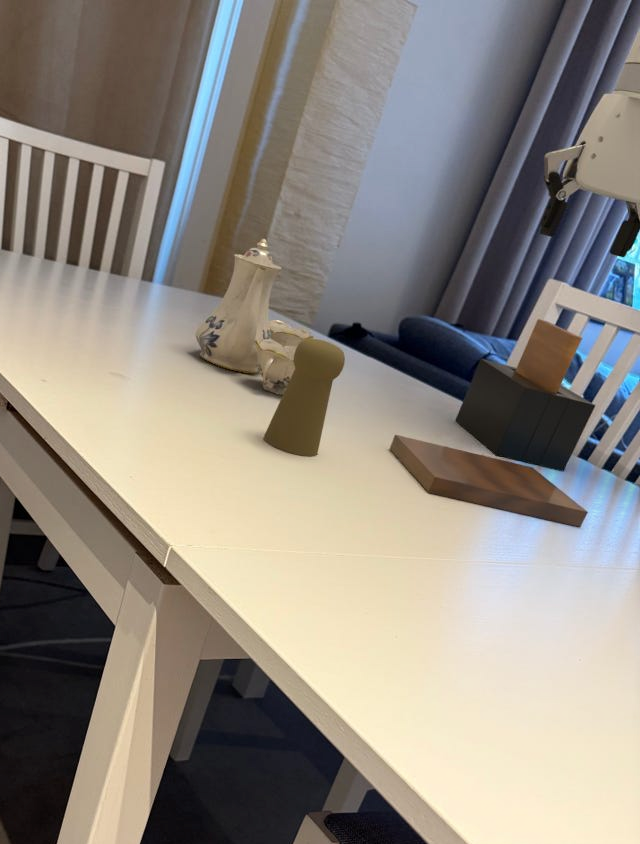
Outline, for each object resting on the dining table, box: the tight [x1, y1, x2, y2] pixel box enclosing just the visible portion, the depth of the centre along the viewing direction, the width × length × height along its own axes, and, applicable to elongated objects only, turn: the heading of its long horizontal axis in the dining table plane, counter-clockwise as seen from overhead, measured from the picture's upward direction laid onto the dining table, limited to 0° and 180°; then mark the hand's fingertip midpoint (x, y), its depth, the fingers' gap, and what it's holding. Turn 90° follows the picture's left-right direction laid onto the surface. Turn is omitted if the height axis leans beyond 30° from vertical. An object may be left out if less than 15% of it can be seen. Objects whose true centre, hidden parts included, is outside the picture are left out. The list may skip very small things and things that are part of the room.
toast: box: [515, 318, 583, 393], centre depth 123 cm, size 2×10×14 cm, turn 4°
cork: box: [263, 338, 346, 457], centre depth 96 cm, size 6×6×11 cm
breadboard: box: [389, 434, 589, 528], centre depth 104 cm, size 18×14×2 cm
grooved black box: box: [454, 358, 596, 472], centre depth 125 cm, size 11×15×9 cm
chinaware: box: [195, 238, 314, 396], centre depth 124 cm, size 28×17×17 cm, turn 179°
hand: (581, 245), depth 115 cm, fingers open, 9 cm apart
